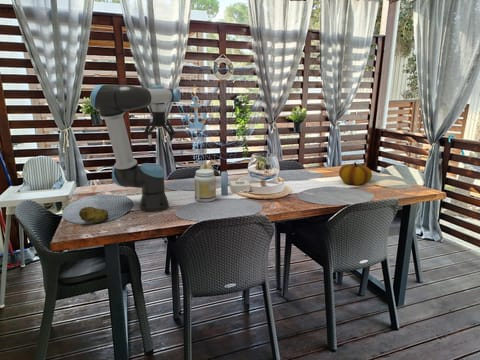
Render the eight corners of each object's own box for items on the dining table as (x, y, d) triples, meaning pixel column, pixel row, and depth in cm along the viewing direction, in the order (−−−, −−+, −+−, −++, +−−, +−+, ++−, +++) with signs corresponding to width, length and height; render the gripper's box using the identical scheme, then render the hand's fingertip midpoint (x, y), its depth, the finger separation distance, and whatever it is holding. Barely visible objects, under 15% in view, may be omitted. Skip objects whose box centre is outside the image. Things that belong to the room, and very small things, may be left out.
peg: (228, 195, 197) (228, 173, 193) (221, 195, 196) (221, 173, 192) (227, 193, 200) (227, 171, 197) (220, 193, 200) (220, 171, 196)
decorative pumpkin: (367, 189, 212) (370, 166, 208) (334, 184, 223) (335, 162, 219) (373, 182, 229) (376, 161, 225) (341, 177, 240) (343, 157, 236)
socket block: (251, 192, 204) (251, 185, 203) (232, 192, 202) (232, 185, 201) (247, 186, 215) (247, 180, 214) (229, 187, 213) (229, 180, 212)
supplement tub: (220, 198, 191) (219, 170, 187) (206, 204, 182) (206, 174, 177) (204, 194, 198) (203, 167, 193) (190, 199, 188) (189, 171, 184)
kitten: (204, 179, 231) (204, 159, 227) (217, 181, 228) (217, 160, 224) (195, 185, 217) (194, 163, 213) (209, 186, 214) (208, 164, 210)
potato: (111, 222, 155) (109, 206, 153) (81, 227, 149) (79, 211, 147) (108, 216, 162) (106, 201, 160) (79, 221, 156) (77, 205, 154)
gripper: (179, 111, 202) (181, 145, 208) (143, 110, 208) (145, 143, 213) (174, 112, 195) (176, 147, 201) (137, 111, 201) (139, 145, 206)
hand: (160, 145), depth 207 cm, fingers open, 13 cm apart
